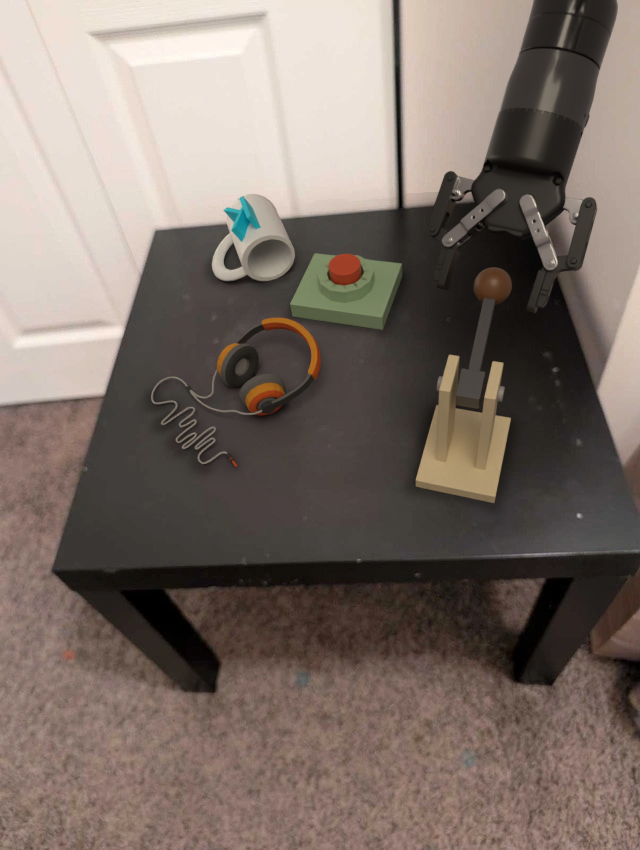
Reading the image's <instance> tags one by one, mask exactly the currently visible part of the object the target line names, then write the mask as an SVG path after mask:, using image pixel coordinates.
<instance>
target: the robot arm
mask: <svg viewBox="0 0 640 850" xmlns="http://www.w3.org/2000/svg"><path fill="white" fill-rule="evenodd" d="M618 10H619V4H618V0H533V2H532V6H531V10H530V13H529V17H528V21H527V25H526V27H525V31H524V35H523V37H522V41H521V44H520V48H519V52H518V56H517V58H516V62H515V64H514V66H513V68H512V70H511V73H510V76H509V78H508V81H507V82H506V86H505V89H504V92H503V97H502V99H501V103H500V107H499V110H498V113H497V117H496V120H495V123H494V126H493V130H492V134H491V136H490V141H489V143H488V148H487V151H486V155H485V157H484V162H483V165H482V168H481V171H480V172H479V174H478V176H477V177H476V178H474V179H472V178H468V177H463V176H459V175H458V174H457V173H456V172H455V171H453V170H449V171H447V172H445V174H444V175H443V177H442V180H441V184H440V187H439V190H438V192H437V195H436V199H435V202H434V204H433V206H432V207H433V208H432V210H431V213H430V216H429V219H428V222H427V224H426V228H425V231H426V234H427V235H428V236H430V237H431V238H433V239H434V240H435V241H437V242H438V243H439V244H440V251H439V255H438V258H437V262H436V265H435V269H434V272H433V280H434V282H437V284H436V287H437V289H440V290H443V291H447V292H448V291H449V290H450V289H451V284H452V281H453V277H454V275H455V272H456V268H457V264H458V260H459V257H460V254H461V252H459V251H458V250H459V249H460V248H461V247H462V246H464V245H465V244H466V243H467V242H468V241H470V240H471V239H472V238H474V237H476V236H478V235H479V234H480V233H482V232H483V231H484V230H485V229H486V230H487V231H489V232H490V233H491V234H494V235H500V236H501V235H509V236H511V237H513V238H515V239H517V240H522V241H525V240H526V239H530V238H532V240H533V242H534V244H535V247H536V249H537V252H538V254H539V257H540V260H541V263H542V267H541V269H538V271H537V272H536V273H537V274H536V277H535V279H534V283H533V286H532V289H531V292H530V295H529V299H528V301H527V304H526V308H525V311H526V312H528V313H532V314H536V313H537V311H538V310H539V309H544V308H545V307H546V306H547V304H548V302H549V299H550V295H551V292H552V290H553V286H554V283H555V281H556V278H557V276H558V275H560V274H561V273H562V272H577V271H579V270H581V269H582V268H583V265H584V261H585V258H586V254H587V250H588V247H589V243H590V239H591V235H592V231H593V228H594V223H595V220H596V216H597V212H598V205H597V201H596V199H595V198H594V197H591V196H589V197H585V198H584V199H582V198H574V197H567V195H566V188H567V184H568V181H569V178H570V175H571V171H572V168H573V165H574V162H575V159H576V156H577V153H578V150H579V146H580V144H581V140H582V137H583V134H584V131H585V128H586V127H587V125H588V123H589V119H590V112H591V110H592V106H593V102H594V98H595V94H596V88H597V83H598V78H599V75H600V70H601V68H602V65H603V62H604V58H605V56H606V52H607V49H608V46H609V43H610V39H611V37H612V33H613V30H614V28H615V24H616V20H617V16H618V13H619V11H618ZM469 193H471V196H472V199H473V203H474V205H475V207H474V208H473V209H472V210H470V211H469V212H468V213H467V214H466V215H465V216H464V217H462V218H461V220H459V223H458V224H456V225H455V226H454V227H453V228H452V229H450V230H449V231H448V226H449V224H450V221H451V219H452V215H453V213H454V209H455V207H456V204H457V202H461V201H463V200H464V198H465V196H466V195H468V194H469ZM564 211H566V212H567V213H568V214H569V215H568V219H569V221H570V224H571V225H573V226H574V228H573V229H574V230H573V234H572V238H571V241H570V245H569V248H568V253H567V254H566V255H558V254H557V252H556V250H555V247H554V244H553V240H552V238H551V236H550V233H549V231H548V228H547V226H548V225H549V224H550V223H551V222H553V221H554V220H555V219H557V217H558V216H560V215H561V214H562V213H563V212H564Z"/></svg>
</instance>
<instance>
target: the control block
mask: <svg viewBox="0 0 640 850" xmlns="http://www.w3.org/2000/svg"><path fill="white" fill-rule="evenodd" d="M354 255H355V256H356V257H358V258H359V260H360V262H361V273H362V274H361V277H360V279H359V280H358V281H357V282H355V283H353V284H349V285H338V284H335V283H334V282H333V281H332V280H331V279H330V274H329V262H330V261H331V259H332V258H334V257H335V256H336V255H334V254H333V255H332V254H325V253H316V252H315V253H314V254H313V255H312V258H311V259H310V262H309V263H308V266H307V267H306V270H305V272H304V274H303V276H302V279H301V280H300V282H299V285H298V287H297V288H296V291H295V292H294V295H293V297H292V299H291V301H290V303H289V306H290V312H291V316H292V317H293V318H298V319H307V320H312V321H313V320H314V321H320V322H327V323H334V324H340V325H347V326H354V327H360V328H366V329H374V330H381V331H384V328H385V325H386V323H387V320H388V317H389V314H390V312H391V308H392V306H393V304H394V302H395V301H394V300H395V298H396V295H397V292H398V290H399V287H400V285H401V282H402V278H403V263H400V262H392V261H384V260H374V259H367V258H365V257H363V256H362V255H357V254H354Z"/></svg>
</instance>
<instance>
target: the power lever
mask: <svg viewBox="0 0 640 850" xmlns="http://www.w3.org/2000/svg"><path fill="white" fill-rule="evenodd" d="M512 289H513V282H512V278H511V277H510V274H509V273H508V272H507V271H505V270H504V269H503V268H500V267H492V266H491V267H487V268H484V269H482V271H480V272H479V273H478V274H477V276H476V277H475V279H474V282H473V293H474V296H475V297H476V299H477V300H478V301H479V302H481V303H482V304H481V309H480V314H479V317H478V322H477V326H476V332H475V336H474V341H473V345H472V348H471V349H472V350H471V354H470V358H469V362H468V363H469V364H468V368H463V367H461V368H460V373H459V376H458V383H457V390H456V395H455V398H456V406H459V407H465V408H469V409H475V410H480V407H481V403H482V398H483V392H484V389H485V383H486V371H482V366H483V362H484V357H485V352H486V349H487V348H486V347H487V344H488V340H489V334H490V329H491V326H492V321H493V320H492V319H493V316H494V310H495V306H497V305H499V304H502V303H503V302H505V301H506V300H507V299H508V298H509V296H510V295H511V292H512Z"/></svg>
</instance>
